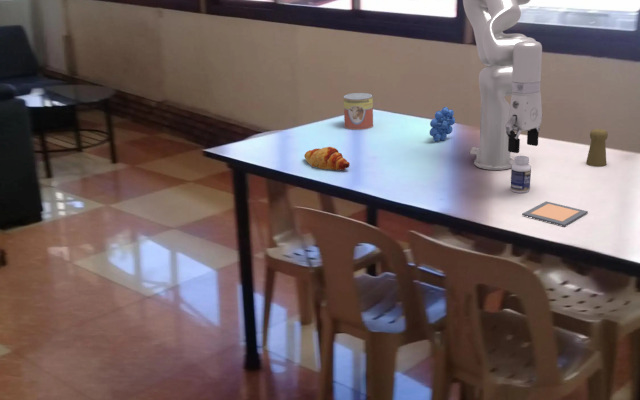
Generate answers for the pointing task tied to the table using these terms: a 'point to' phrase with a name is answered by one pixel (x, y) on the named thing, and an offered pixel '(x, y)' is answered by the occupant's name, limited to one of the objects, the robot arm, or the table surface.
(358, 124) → the canned food
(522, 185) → the pill bottle
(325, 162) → the croissant
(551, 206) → the coaster
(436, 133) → the grapes
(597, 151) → the cork
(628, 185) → the table surface
